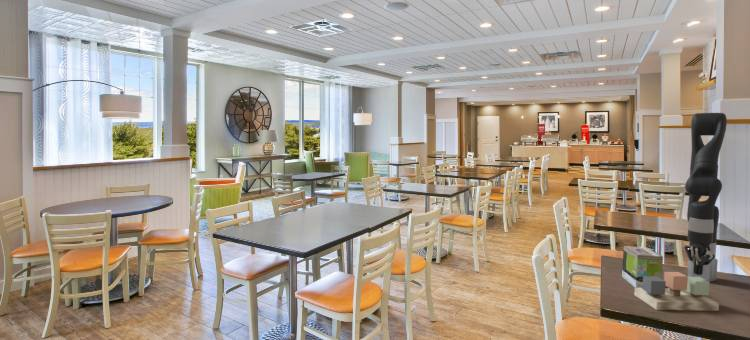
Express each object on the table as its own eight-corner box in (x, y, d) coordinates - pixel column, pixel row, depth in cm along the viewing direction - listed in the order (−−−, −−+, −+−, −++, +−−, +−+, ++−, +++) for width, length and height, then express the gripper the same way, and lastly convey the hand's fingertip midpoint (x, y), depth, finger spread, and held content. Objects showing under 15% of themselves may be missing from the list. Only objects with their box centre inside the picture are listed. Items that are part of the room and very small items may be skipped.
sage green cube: (698, 289, 159) (699, 276, 158) (708, 295, 154) (709, 281, 153) (684, 289, 159) (685, 276, 159) (694, 294, 154) (695, 281, 153)
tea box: (662, 290, 169) (664, 256, 167) (635, 289, 171) (636, 254, 169) (645, 278, 183) (647, 246, 182) (621, 276, 185) (622, 245, 184)
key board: (690, 295, 163) (692, 278, 163) (718, 310, 150) (719, 292, 149) (634, 294, 165) (635, 278, 164) (656, 309, 151) (657, 291, 150)
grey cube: (656, 289, 160) (656, 276, 159) (664, 294, 154) (665, 281, 154) (642, 289, 160) (643, 276, 159) (650, 294, 155) (651, 281, 154)
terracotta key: (677, 284, 159) (678, 271, 158) (687, 289, 154) (687, 276, 153) (663, 284, 159) (664, 271, 159) (672, 289, 154) (673, 276, 154)
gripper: (724, 234, 147) (721, 280, 149) (698, 225, 160) (695, 268, 162) (703, 234, 148) (700, 280, 149) (678, 225, 161) (675, 268, 163)
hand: (697, 274), depth 156 cm, fingers closed
